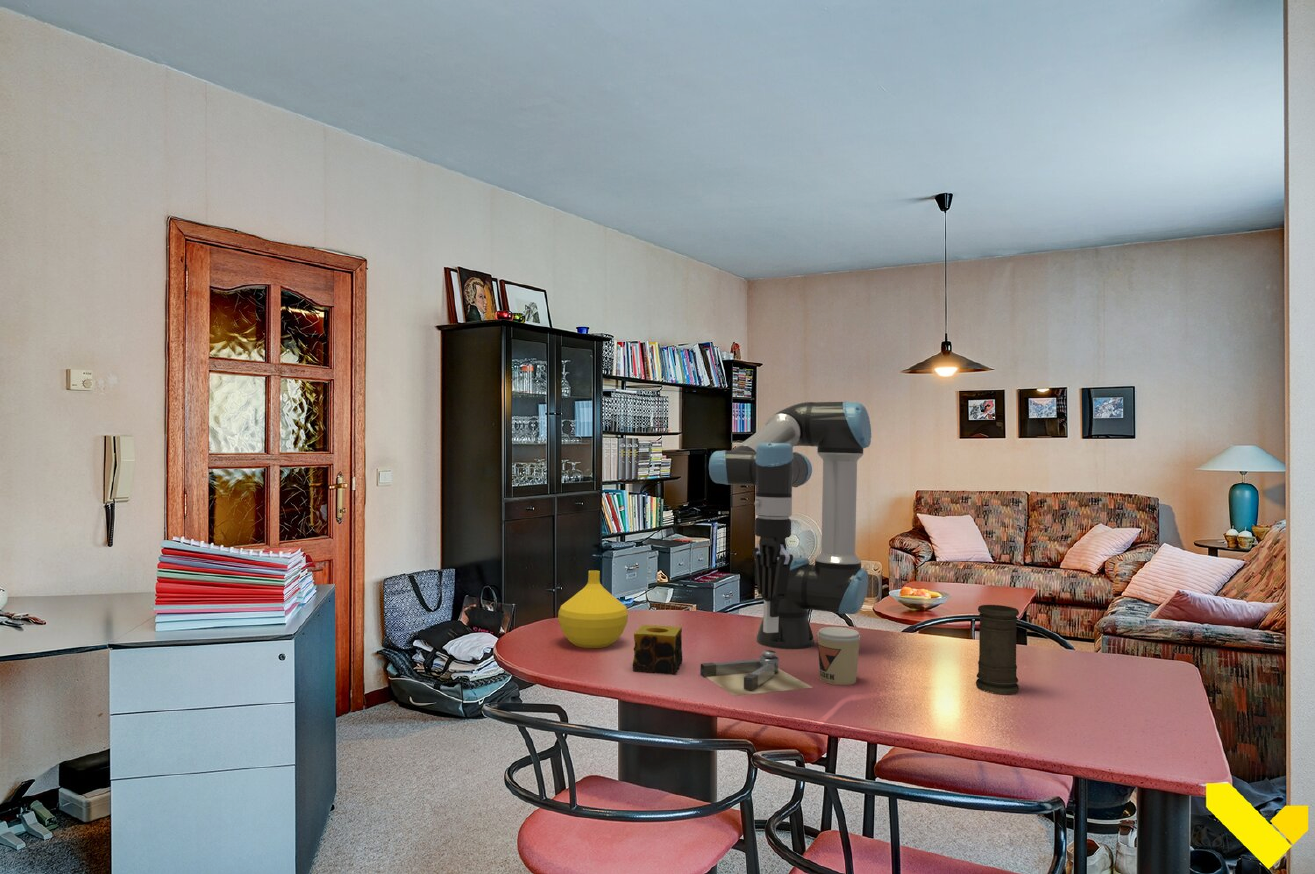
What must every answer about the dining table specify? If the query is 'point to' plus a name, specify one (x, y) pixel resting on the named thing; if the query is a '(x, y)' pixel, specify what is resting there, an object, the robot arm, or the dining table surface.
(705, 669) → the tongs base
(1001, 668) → the container
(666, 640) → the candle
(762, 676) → the bar
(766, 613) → the robot arm
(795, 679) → the board
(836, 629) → the coffee cup
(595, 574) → the vase
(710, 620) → the dining table surface
